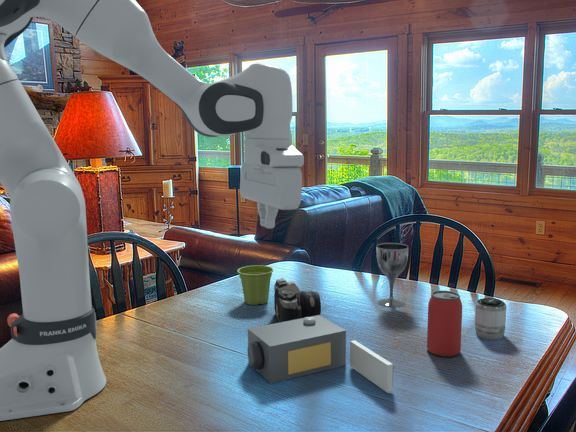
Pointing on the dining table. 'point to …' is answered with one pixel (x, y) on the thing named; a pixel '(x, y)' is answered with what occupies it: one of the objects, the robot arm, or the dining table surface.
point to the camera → (294, 301)
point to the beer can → (444, 323)
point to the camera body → (296, 348)
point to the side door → (371, 366)
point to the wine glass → (392, 267)
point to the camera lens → (490, 318)
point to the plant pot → (255, 283)
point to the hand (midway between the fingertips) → (267, 227)
